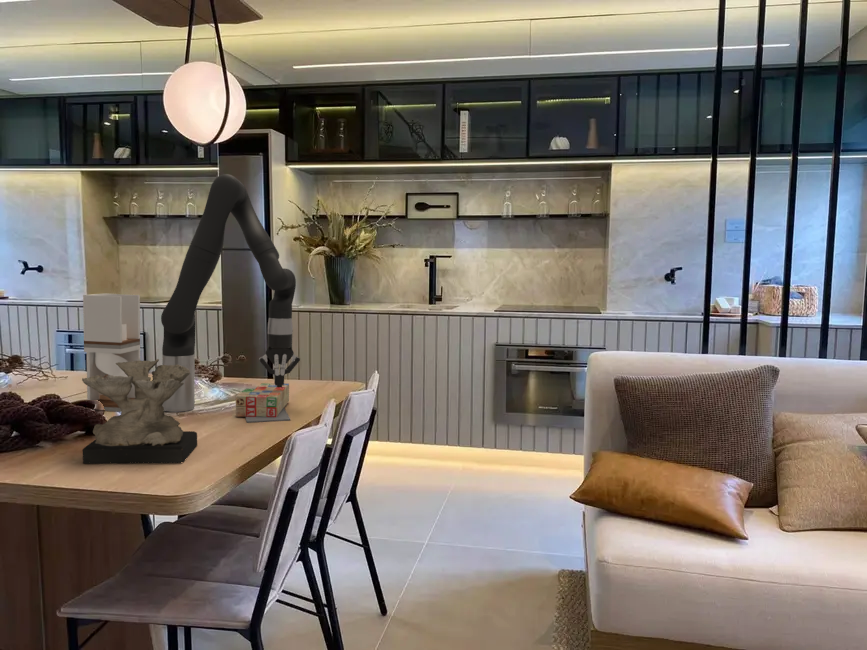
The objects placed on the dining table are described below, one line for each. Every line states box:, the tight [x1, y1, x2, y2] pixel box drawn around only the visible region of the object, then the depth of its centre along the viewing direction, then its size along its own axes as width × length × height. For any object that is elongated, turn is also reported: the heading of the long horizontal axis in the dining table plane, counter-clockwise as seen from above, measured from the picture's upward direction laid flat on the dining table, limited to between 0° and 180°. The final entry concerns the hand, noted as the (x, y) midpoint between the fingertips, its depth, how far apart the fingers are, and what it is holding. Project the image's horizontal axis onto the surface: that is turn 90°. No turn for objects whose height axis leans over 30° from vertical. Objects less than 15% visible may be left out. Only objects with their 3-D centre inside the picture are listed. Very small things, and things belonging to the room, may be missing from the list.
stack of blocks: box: [235, 382, 290, 417], centre depth 188 cm, size 21×6×12 cm
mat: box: [244, 407, 291, 424], centre depth 186 cm, size 12×24×1 cm, turn 21°
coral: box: [81, 358, 198, 465], centre depth 143 cm, size 25×20×21 cm
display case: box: [82, 293, 141, 412], centre depth 184 cm, size 11×11×35 cm
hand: (279, 386), depth 187 cm, fingers closed
